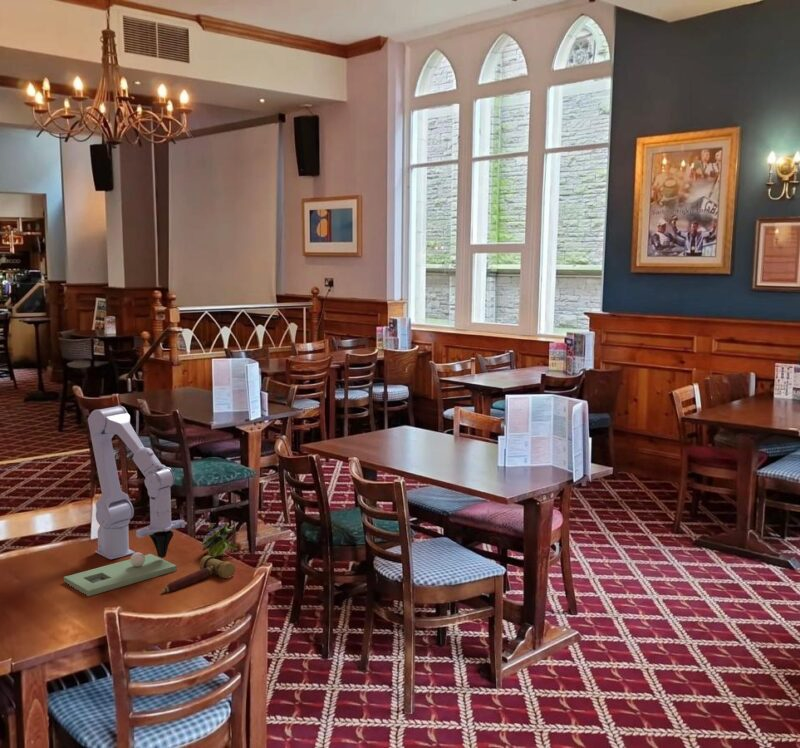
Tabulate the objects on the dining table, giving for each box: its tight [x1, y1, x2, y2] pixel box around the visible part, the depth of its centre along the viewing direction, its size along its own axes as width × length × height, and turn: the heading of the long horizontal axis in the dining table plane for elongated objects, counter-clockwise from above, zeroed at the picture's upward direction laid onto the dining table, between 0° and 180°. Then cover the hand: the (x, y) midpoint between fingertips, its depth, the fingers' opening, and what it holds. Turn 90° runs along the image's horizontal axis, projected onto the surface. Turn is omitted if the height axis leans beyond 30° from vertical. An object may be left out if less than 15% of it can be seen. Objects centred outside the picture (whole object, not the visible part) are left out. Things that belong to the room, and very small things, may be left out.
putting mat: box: [63, 553, 178, 597], centre depth 228 cm, size 14×26×2 cm, turn 137°
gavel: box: [160, 555, 236, 594], centre depth 224 cm, size 21×5×10 cm
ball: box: [129, 552, 145, 567], centre depth 231 cm, size 4×4×4 cm
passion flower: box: [201, 521, 238, 559], centre depth 246 cm, size 11×11×12 cm
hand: (161, 556), depth 237 cm, fingers closed
